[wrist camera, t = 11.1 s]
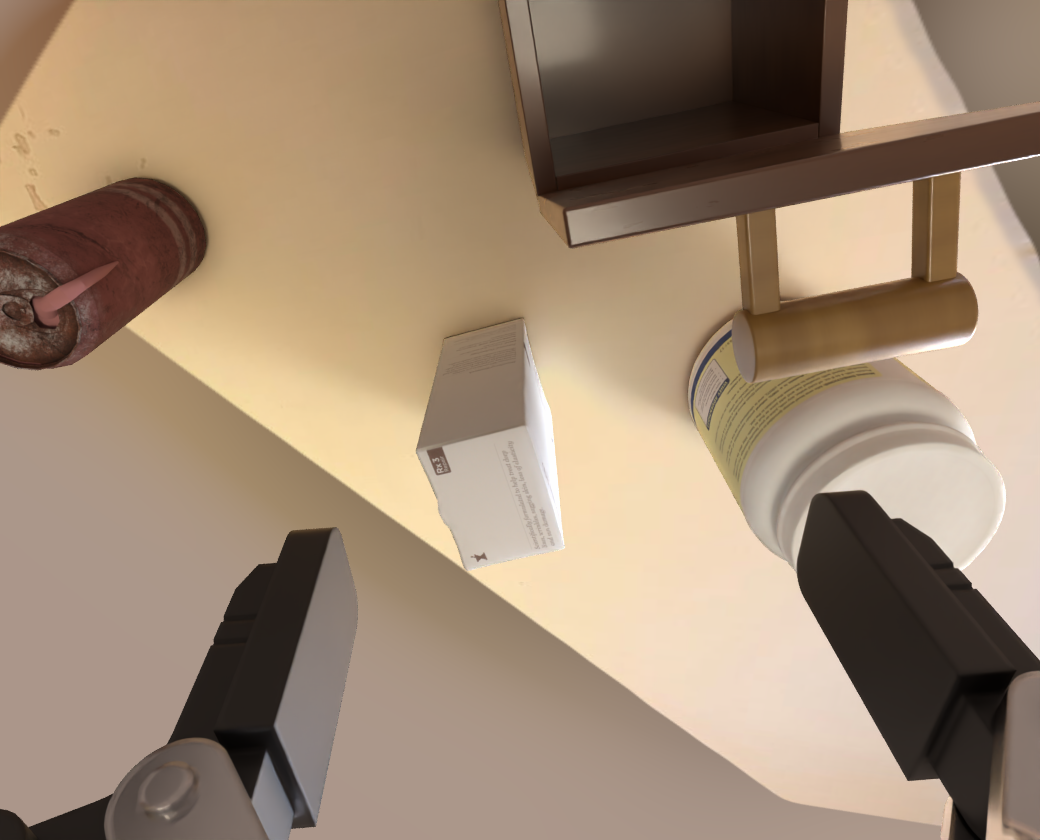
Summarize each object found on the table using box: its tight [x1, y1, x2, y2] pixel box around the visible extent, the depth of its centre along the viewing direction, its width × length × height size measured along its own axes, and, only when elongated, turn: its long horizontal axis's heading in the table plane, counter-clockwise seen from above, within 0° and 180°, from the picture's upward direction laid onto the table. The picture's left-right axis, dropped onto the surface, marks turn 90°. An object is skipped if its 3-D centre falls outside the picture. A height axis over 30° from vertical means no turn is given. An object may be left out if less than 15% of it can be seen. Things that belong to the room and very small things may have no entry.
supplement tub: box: [688, 301, 1006, 573], centre depth 39 cm, size 12×12×17 cm
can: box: [0, 178, 206, 370], centre depth 33 cm, size 6×6×14 cm
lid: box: [538, 101, 1040, 384], centre depth 20 cm, size 16×13×5 cm
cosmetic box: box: [416, 318, 565, 571], centre depth 39 cm, size 8×6×15 cm
